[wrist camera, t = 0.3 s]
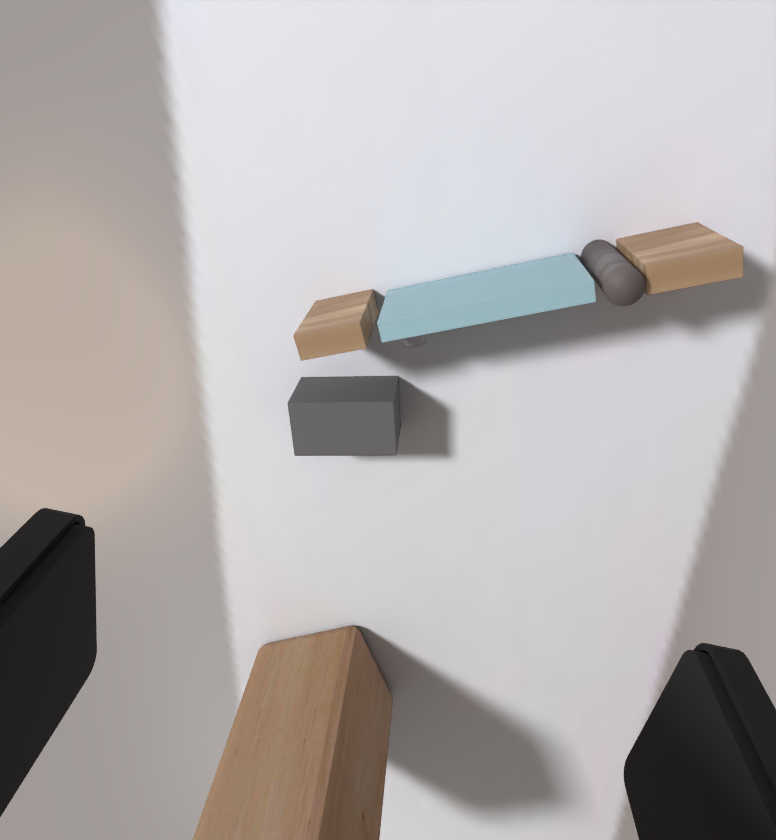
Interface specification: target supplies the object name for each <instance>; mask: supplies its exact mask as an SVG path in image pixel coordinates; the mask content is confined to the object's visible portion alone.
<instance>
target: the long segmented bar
mask: <svg viewBox="0 0 776 840" xmlns="http://www.w3.org/2000/svg"><path fill="white" fill-rule="evenodd" d="M616 245H617V250H616V249H615V248H614V247H613V246H612V245H611V244H610V243H608V242H607V241H604V240H594V241H592V242H590V243H589V244H587V245H586V246H585V248H584V249H583V251H582V254H581V261H582V264H583V265H584V267H585V268H586V269H587V271H588V272H589V273H590V275H591V276H592V277H593V279H594V280H595V281H596V283H597V284H598V285H599V287H600V288H601V289H602V291H603V292H604V293H605V295H606V296H607V297H608V298H609V300H610V301H611V302H612V303H614V304H616V305H619V306H627V305H631V304H633V303H635V302H636V301H638V300H639V299H640V298H641V296H642V295H643V293H644V292H645V293H646V294H647V295H650V294H656V293H661V292H666V291H671V290H677V289H682V288H687V287H692V286H698V285H703V284H708V283H714V282H719V281H724V280H729V279H735V278H740V277H743V246H741V245H739V244H737V243H735V242H733V241H731V240H730V239H728V238H726V237H724V236H722V235H720V234H718V233H716V232H715V231H713V230H711V229H709V228H707V227H705V226H703V225H701V224H699V223H698V222H697V223H692V224H687V225H682V226H677V227H673V228H668V229H663V230H658V231H653V232H648V233H643V234H639V235H634V236H629V237H624V238H619V239H616ZM377 315H378V308H377V304H376V300H375V296H374V292H373V289H372V290H367V291H362V292H357V293H352V294H348V295H343V296H338V297H333V298H328V299H323V300H319V301H316V302H315V303H314V305H313V306H312V308H311V309H310V311H309V312H308V314H307V315H306V317H305V318H304V320H303V322H302V323H301V325H300V326H299V328H298V329H297V331H296V332H295V334H294V335H293V336H294V339H295V343H296V346H297V349H298V352H299V356H300V359H301V361H302V360H308V359H313V358H318V357H323V356H329V355H334V354H339V353H344V352H350V351H355V350H360V349H366V347H367V345H368V342H369V339H370V336H371V333H372V330H373V327H374V324H375V321H376V318H377Z"/></svg>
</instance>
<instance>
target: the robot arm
mask: <svg viewBox="0 0 776 840" xmlns="http://www.w3.org/2000/svg"><path fill="white" fill-rule="evenodd" d="M94 536H95V535H94V530H93V528H91V527H87V526H85V520H84V518H83V517H82V516H80V515H77V514H72V513H67V512H62V511H57V510H52V509H47V508H44V509H40V510H39V511H38V512H36V513H35V514H34V515H33V516H32V517H31V518H30V519H29V520H28V521H27V522H26V523H25V524H24V525H23V526H22V527H21V528H20V529H19V530H18V531H17V532H16V533H15V534H14V535H13V536H12V537H11V538H10V539H9V540H8V541H7V542H6V543H5V544H4V545H3V546H2V547H1V548H0V817H1V815H2V813H3V812H4V810H5V809H6V807H7V805H8V804H9V802H10V801H11V799H12V798H13V796H14V794H15V793H16V791H17V790H18V788H19V786H20V785H21V783H22V782H23V780H24V778H25V777H26V775H27V774H28V772H29V770H30V769H31V767H32V766H33V764H34V762H35V761H36V759H37V758H38V756H39V754H40V753H41V751H42V750H43V748H44V747H45V745H46V743H47V742H48V740H49V738H50V737H51V735H52V734H53V732H54V731H55V729H56V727H57V726H58V724H59V723H60V721H61V720H62V718H63V716H64V715H65V713H66V711H67V710H68V708H69V707H70V705H71V704H72V702H73V700H74V699H75V697H76V695H77V694H78V692H79V691H80V689H81V688H82V686H83V684H84V683H85V681H86V680H87V678H88V676H89V675H90V673H91V671H92V668H93V666H94V662H95V658H96V653H97V642H96V586H95V537H94ZM624 782H625V787H626V791H627V795H628V799H629V803H630V806H631V810H632V814H633V818H634V822H635V825H636V829H637V833H638V837H639V840H776V709H775V707H774V705H773V704H772V702H771V700H770V698H769V696H768V695H767V693H766V691H765V689H764V687H763V685H762V684H761V682H760V680H759V678H758V676H757V674H756V672H755V671H754V669H753V667H752V665H751V663H750V661H749V660H748V658H747V657H746V655H745V654H744V653H743V652H741V651H740V650H736V649H730V648H726V647H721V646H716V645H712V644H707V643H701V644H699V645H698V646H696V648H695V649H694V650H687V651H686V652H684V654H683V655H682V657H681V659H680V661H679V662H678V664H677V666H676V668H675V670H674V672H673V674H672V675H671V677H670V679H669V681H668V683H667V685H666V686H665V688H664V690H663V692H662V694H661V696H660V698H659V699H658V701H657V703H656V705H655V707H654V709H653V711H652V712H651V714H650V716H649V718H648V720H647V722H646V724H645V725H644V727H643V729H642V731H641V733H640V735H639V736H638V738H637V740H636V742H635V744H634V746H633V748H632V749H631V751H630V753H629V755H628V757H627V759H626V762H625V766H624Z"/></svg>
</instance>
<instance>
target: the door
mask: <svg viewBox="0 0 776 840" xmlns="http://www.w3.org/2000/svg"><path fill="white" fill-rule="evenodd" d="M592 302H596V296H595V285H594V280H593V278H592V277H591V276H590V274H589V273H588V272H587V270H586V269H585V268H584V266H583V265H582V264H581V262H580V261H579V260H578V258H577V257H576V256H575V254H574V253H568V254H563V255H558V256H553V257H548V258H543V259H539V260H534V261H529V262H524V263H519V264H514V265H509V266H504V267H500V268H495V269H490V270H485V271H480V272H475V273H470V274H465V275H460V276H456V277H451V278H446V279H441V280H436V281H431V282H426V283H421V284H417V285H412V286H407V287H402V288H397V289H392V290H388V291H387V294H386V297H385V300H384V303H383V306H382V309H381V312H380V316H379V319H378V322H377V325H378V329H379V333H380V337H381V341H382V342H388V341H393V340H398V339H403V343H404V346H405V347H417V346H420V345H422V344H424V343H425V342H426V338H425V334H430V333H435V332H440V331H445V330H451V329H456V328H461V327H466V326H472V325H477V324H482V323H487V322H493V321H498V320H503V319H508V318H514V317H519V316H524V315H529V314H535V313H540V312H545V311H550V310H556V309H561V308H566V307H571V306H577V305H582V304H587V303H592Z"/></svg>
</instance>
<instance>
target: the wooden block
mask: <svg viewBox="0 0 776 840" xmlns="http://www.w3.org/2000/svg"><path fill="white" fill-rule="evenodd" d="M392 703H393V698H392V695H391V693H390V691H389V689H388V687H387V685H386V683H385V681H384V679H383V677H382V675H381V673H380V671H379V669H378V667H377V664H376V662H375V660H374V658H373V656H372V654H371V652H370V650H369V648H368V646H367V644H366V642H365V640H364V638H363V636H362V634H361V632H360V630H359V629H358V628H356V627H353V626H347V627H342V628H337V629H333V630H328V631H323V632H318V633H314V634H309V635H304V636H299V637H295V638H290V639H285V640H280V641H276V642H271V643H267V644H265V645H264V646H262V647H261V648H260V649H259V651H258V654H257V656H256V659H255V662H254V665H253V668H252V671H251V674H250V677H249V679H248V682H247V685H246V688H245V691H244V694H243V697H242V700H241V702H240V705H239V708H238V711H237V714H236V717H235V720H234V723H233V726H232V728H231V731H230V734H229V737H228V740H227V743H226V746H225V749H224V752H223V754H222V757H221V760H220V763H219V766H218V769H217V772H216V774H215V778H214V780H213V783H212V786H211V789H210V792H209V795H208V798H207V801H206V803H205V806H204V809H203V812H202V815H201V818H200V821H199V824H198V826H197V830H196V832H195V835H194V838H193V840H379V836H380V826H381V815H382V805H383V795H384V785H385V775H386V764H387V754H388V744H389V734H390V724H391V713H392Z"/></svg>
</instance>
